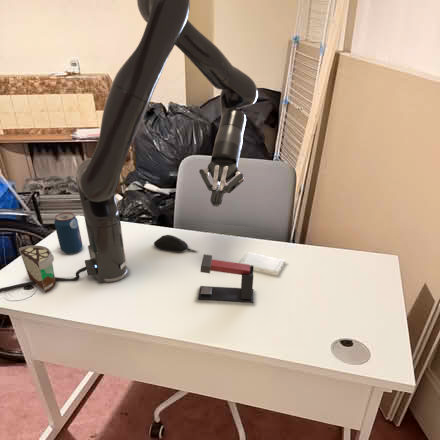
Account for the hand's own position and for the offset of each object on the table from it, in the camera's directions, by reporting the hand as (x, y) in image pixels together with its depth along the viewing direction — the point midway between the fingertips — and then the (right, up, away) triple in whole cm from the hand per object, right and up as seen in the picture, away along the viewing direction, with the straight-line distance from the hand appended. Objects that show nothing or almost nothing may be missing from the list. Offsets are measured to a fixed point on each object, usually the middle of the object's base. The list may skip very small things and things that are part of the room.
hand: (215, 205), depth 107 cm
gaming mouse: (-14, -9, +26) cm, 30 cm away
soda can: (-47, -10, +23) cm, 54 cm away
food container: (-49, -21, +7) cm, 53 cm away
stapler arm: (+3, -18, -2) cm, 18 cm away
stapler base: (+3, -25, +3) cm, 25 cm away
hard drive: (+14, -15, +17) cm, 27 cm away
